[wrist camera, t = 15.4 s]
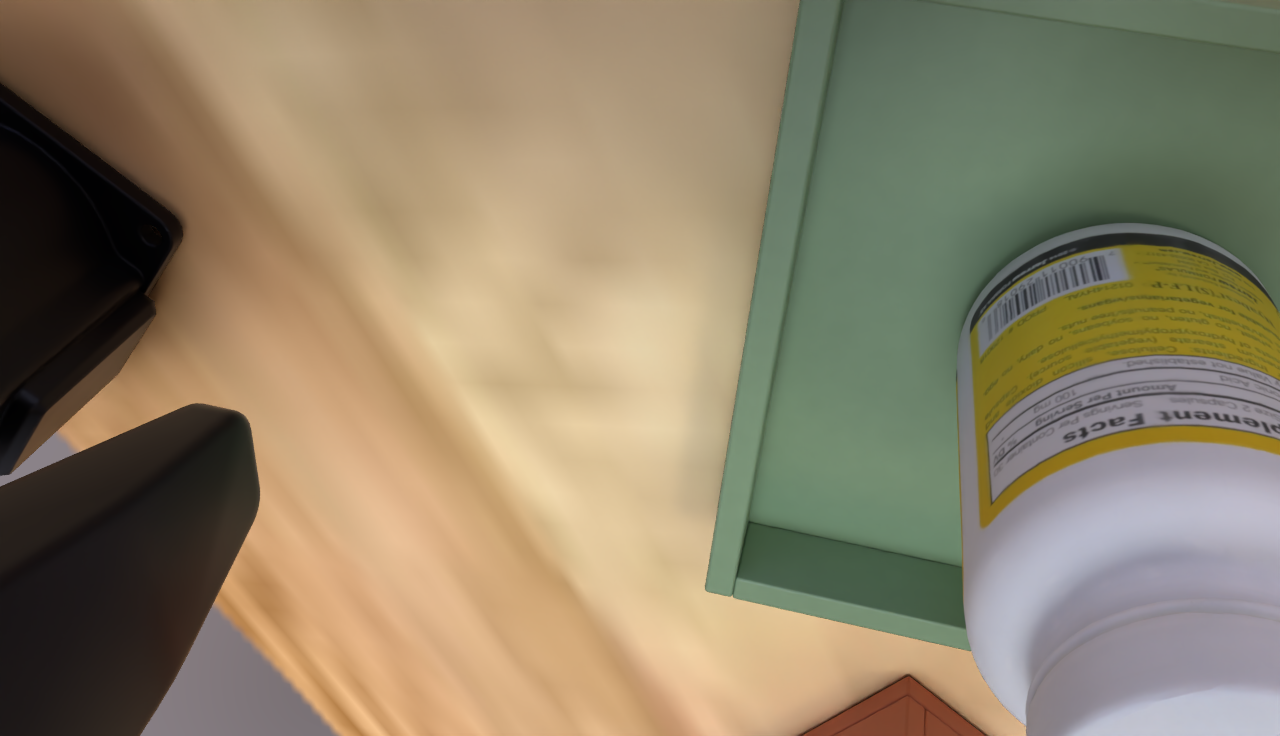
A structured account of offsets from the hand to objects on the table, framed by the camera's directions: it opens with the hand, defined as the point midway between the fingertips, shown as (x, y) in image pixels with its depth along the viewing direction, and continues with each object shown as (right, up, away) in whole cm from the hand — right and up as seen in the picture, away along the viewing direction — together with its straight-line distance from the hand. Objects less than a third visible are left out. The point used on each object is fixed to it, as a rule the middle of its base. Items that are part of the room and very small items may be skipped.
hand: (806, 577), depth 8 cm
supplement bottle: (+7, +2, +12) cm, 14 cm away
